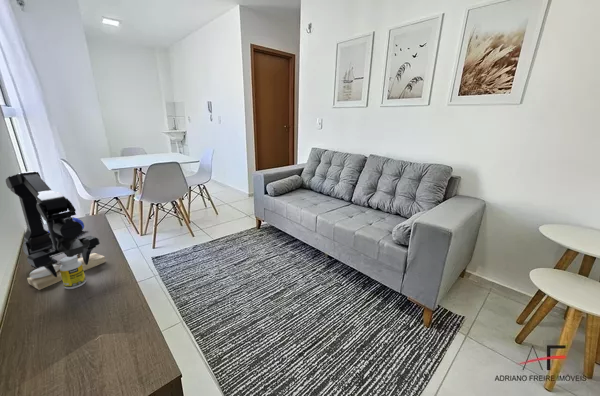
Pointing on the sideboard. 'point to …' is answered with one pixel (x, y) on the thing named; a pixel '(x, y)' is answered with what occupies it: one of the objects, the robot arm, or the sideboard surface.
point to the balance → (45, 278)
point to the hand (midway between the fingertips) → (71, 270)
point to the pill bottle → (72, 272)
